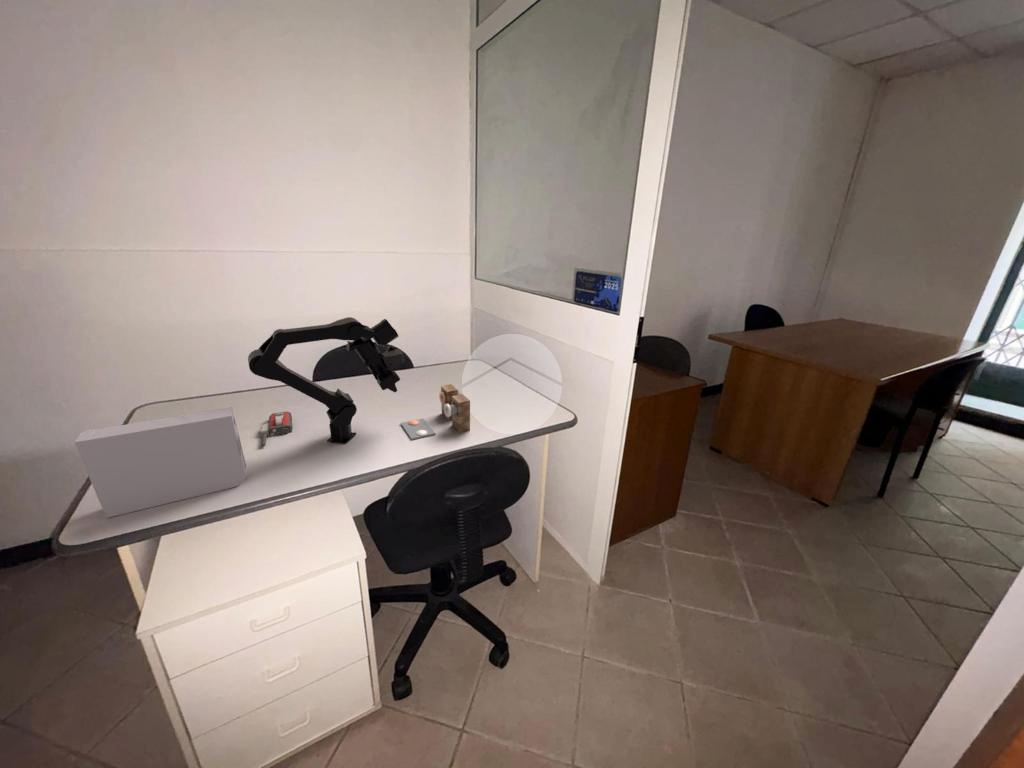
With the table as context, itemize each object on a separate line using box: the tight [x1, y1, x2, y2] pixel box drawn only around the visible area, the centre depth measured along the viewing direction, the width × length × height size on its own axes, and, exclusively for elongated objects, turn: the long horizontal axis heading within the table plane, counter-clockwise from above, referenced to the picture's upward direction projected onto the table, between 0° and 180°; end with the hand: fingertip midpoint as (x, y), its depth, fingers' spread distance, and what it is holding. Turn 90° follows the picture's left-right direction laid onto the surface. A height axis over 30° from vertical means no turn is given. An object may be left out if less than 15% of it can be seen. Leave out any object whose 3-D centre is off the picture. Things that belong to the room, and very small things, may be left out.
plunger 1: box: [439, 390, 461, 404], centre depth 142 cm, size 7×4×4 cm, turn 121°
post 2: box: [451, 393, 471, 433], centre depth 135 cm, size 4×6×11 cm, turn 31°
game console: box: [74, 406, 247, 519], centre depth 95 cm, size 6×27×20 cm, turn 122°
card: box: [400, 418, 436, 441], centre depth 134 cm, size 8×12×1 cm, turn 31°
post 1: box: [440, 383, 459, 421], centre depth 143 cm, size 4×6×11 cm, turn 31°
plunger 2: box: [444, 404, 458, 417], centre depth 133 cm, size 7×4×4 cm, turn 121°
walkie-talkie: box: [260, 411, 293, 447], centre depth 128 cm, size 9×4×20 cm
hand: (395, 391), depth 132 cm, fingers closed
